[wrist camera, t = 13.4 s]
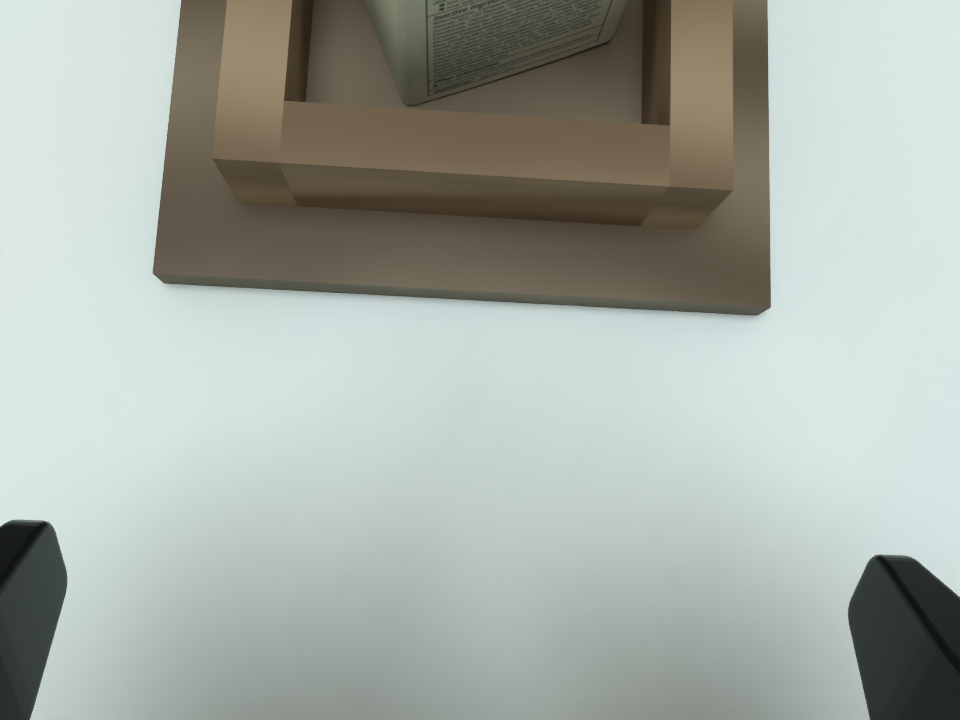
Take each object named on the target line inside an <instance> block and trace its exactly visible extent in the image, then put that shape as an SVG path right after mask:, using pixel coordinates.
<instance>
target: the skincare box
mask: <svg viewBox="0 0 960 720" xmlns="http://www.w3.org/2000/svg"><path fill="white" fill-rule="evenodd" d="M365 3H366V5H367V8H368V11H369V14H370V17H371V20H372V22H373V25H374V28H375V30H376V33H377V36H378V39H379V41H380V44H381V47H382V49H383V52H384V55H385V57H386V60H387V63H388V66H389V68H390V71H391V73H392V76H393V78H394V81H395V83H396V86H397V88H398V91H399V93H400V96H401V98H402V100H403V101H404V103H405V104H407V105H417V104H420V103H423V102H427V101H430V100H433V99H436V98H439V97H442V96H447V95H450V94H453V93H456V92H460V91H463V90H466V89H469V88H472V87H475V86H479V85H482V84H485V83H488V82H491V81H494V80H497V79H500V78H503V77H506V76H509V75H512V74H515V73H518V72H521V71H525V70H528V69H531V68H534V67H537V66H540V65H543V64H546V63H549V62H552V61H555V60H558V59H561V58H564V57H567V56H570V55H572V54H575V53H578V52H581V51H583V50H586V49H589V48H592V47H594V46H597V45H600V44H603V43H605V42H608V41H610V40H611V39H612V38H613V36H614V34H615V31H616V29H617V27H618V24H619V21H620V19H621V16H622V14H623V11H624V8H625V6H626V3H627V0H365Z"/></svg>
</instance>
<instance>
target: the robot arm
mask: <svg viewBox="0 0 960 720" xmlns="http://www.w3.org/2000/svg"><path fill="white" fill-rule="evenodd" d="M66 589H67V571H66V567H65V564H64V560H63V557H62V553H61V550H60V546H59V543H58V539H57V536H56V533H55V530H54V528H53V526H52V525H51V524H50V523H49V522H46V521H37V520H11V521H9V522H7V523H5V524H3V525H2V526H0V720H30V717H31V714H32V711H33V708H34V704H35V701H36V697H37V694H38V690H39V687H40V683H41V680H42V676H43V673H44V669H45V665H46V662H47V658H48V655H49V651H50V648H51V644H52V641H53V637H54V634H55V630H56V626H57V623H58V619H59V616H60V612H61V609H62V605H63V602H64V598H65V594H66ZM848 620H849V626H850V630H851V635H852V639H853V644H854V649H855V653H856V658H857V662H858V667H859V671H860V676H861V680H862V685H863V689H864V694H865V699H866V703H867V708H868V712H869V717H870V720H960V597H959V596H958V595H957V594H956V593H954V592H953V591H952V590H951V589H950V588H949V587H947V586H946V585H945V584H944V583H943V582H941V581H940V580H939V579H938V578H937V577H936V576H934V575H933V574H932V573H931V572H930V571H929V570H927V569H926V568H925V567H924V566H923V565H922V564H920V563H919V562H918V561H917V560H915V559H913V558H912V557H909V556H901V555H875V556H874V557H872V558H871V559H870V560H869V562H868V563H867V565H866V568H865V570H864V572H863V574H862V576H861V578H860V580H859V583H858V585H857V587H856V589H855V591H854V593H853V596H852V598H851V600H850V603H849V608H848Z"/></svg>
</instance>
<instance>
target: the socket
mask: <svg viewBox="0 0 960 720" xmlns="http://www.w3.org/2000/svg"><path fill="white" fill-rule="evenodd" d="M153 274H154V275H155V276H156V277H158V278H159V279H160V280H161V281H162V282H163V283H172V284H190V285H209V286H227V287H246V288H264V289H282V290H301V291H319V292H338V293H356V294H374V295H393V296H411V297H430V298H448V299H466V300H485V301H503V302H522V303H540V304H558V305H577V306H595V307H614V308H632V309H650V310H669V311H687V312H706V313H724V314H743V315H758V314H760V313H762V312H764V311H765V310H767V309H769V308H770V307H771V289H770V198H769V108H768V17H767V0H627V3H626V6H625V8H624V11H623V14H622V16H621V19H620V21H619V24H618V27H617V29H616V31H615V34H614V36H613V38H612V39H611V40H610V41H608V42H605V43H603V44H600V45H597V46H594V47H592V48H589V49H586V50H583V51H581V52H578V53H575V54H572V55H570V56H567V57H564V58H561V59H558V60H555V61H552V62H549V63H546V64H543V65H540V66H537V67H534V68H531V69H528V70H525V71H521V72H518V73H515V74H512V75H509V76H506V77H503V78H500V79H497V80H494V81H491V82H488V83H485V84H482V85H479V86H475V87H472V88H469V89H466V90H463V91H460V92H456V93H453V94H450V95H447V96H442V97H439V98H436V99H433V100H430V101H427V102H423V103H420V104H417V105H407V104H405V103H404V101H403V100H402V98H401V96H400V93H399V91H398V88H397V86H396V83H395V81H394V78H393V76H392V73H391V71H390V68H389V66H388V63H387V60H386V57H385V55H384V52H383V49H382V47H381V44H380V41H379V39H378V36H377V33H376V30H375V28H374V25H373V22H372V20H371V17H370V14H369V11H368V8H367V5H366V3H365V0H181V9H180V19H179V28H178V38H177V47H176V57H175V66H174V76H173V86H172V95H171V105H170V114H169V124H168V133H167V143H166V152H165V162H164V171H163V181H162V190H161V200H160V209H159V219H158V228H157V238H156V247H155V257H154V266H153Z"/></svg>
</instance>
